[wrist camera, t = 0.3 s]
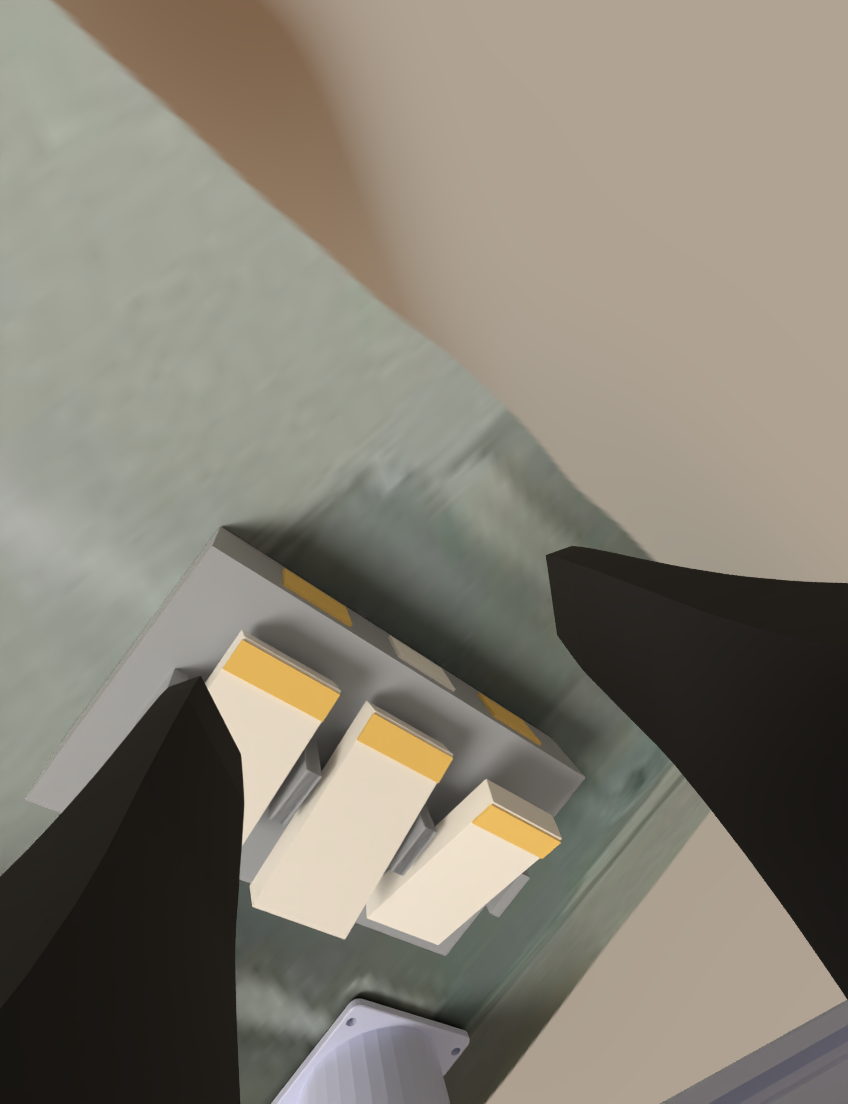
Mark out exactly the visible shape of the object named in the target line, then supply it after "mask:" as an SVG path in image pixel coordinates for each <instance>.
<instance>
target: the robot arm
mask: <svg viewBox="0 0 848 1104" xmlns="http://www.w3.org/2000/svg"><path fill="white" fill-rule="evenodd" d="M546 560H547V567H548V574H549V581H550V588H551V595H552V602H553V609H554V616H555V623H556V629H557V635H558V637H559V638H560V640H561V641H562V642H563V644H564V645H565V647H566V648H567V649H568V651H569V652H570V654H571V655H572V656H573V658H574V659H575V660H576V661H577V663H578V664H579V665H580V667H581V668H582V669H583V671H584V672H585V673H586V674H587V675H588V676H589V677H590V678H591V679H592V680H593V681H594V682H595V683H596V684H597V685H598V686H599V687H600V688H601V689H602V690H603V691H604V692H605V693H606V694H607V695H608V696H609V697H610V699H611V700H612V701H613V702H614V703H615V704H616V705H617V706H618V707H619V708H620V709H621V710H622V711H623V712H624V713H625V714H626V715H627V716H628V717H629V718H630V719H631V720H632V721H633V722H634V723H635V724H636V725H637V726H638V727H639V728H640V729H641V730H642V731H643V732H644V733H645V734H646V735H647V736H648V737H649V738H650V739H651V740H652V741H653V742H654V743H655V744H656V745H657V746H658V747H659V748H660V749H661V750H662V751H663V752H664V754H665V755H666V756H667V757H668V758H669V759H670V760H671V761H672V762H673V763H674V765H675V766H676V767H677V768H678V769H679V771H680V772H681V773H682V774H683V776H684V777H685V778H686V779H687V781H688V782H689V783H690V784H691V786H692V787H693V788H694V789H695V790H696V792H697V793H698V794H699V795H700V797H701V798H702V799H703V800H704V802H705V803H706V804H707V805H708V807H709V808H710V809H711V810H712V812H713V813H714V814H715V816H716V817H717V818H718V819H719V821H720V822H721V823H722V825H723V826H724V827H725V829H726V830H727V831H728V833H729V834H730V835H731V836H732V838H733V839H734V840H735V842H736V843H737V844H738V846H739V847H740V848H741V849H742V851H743V852H744V853H745V854H746V856H747V857H748V859H749V860H750V861H751V863H752V864H753V866H754V867H755V868H756V869H757V871H758V872H759V874H760V875H761V876H762V878H763V879H764V881H765V882H766V883H767V885H768V886H769V887H770V889H771V890H772V892H773V893H774V894H775V896H776V897H777V898H778V900H779V901H780V902H781V904H782V905H783V907H784V908H785V909H786V911H787V912H788V914H789V915H790V916H791V918H792V919H793V921H794V922H795V924H796V925H797V926H798V928H799V929H800V931H801V932H802V933H803V935H804V937H805V938H806V940H807V941H808V942H809V944H810V945H811V947H812V948H813V950H814V951H815V953H816V954H817V955H818V957H819V958H820V960H821V961H822V962H823V964H824V966H825V967H826V968H827V970H828V971H829V973H830V974H831V976H832V977H833V979H834V980H835V982H836V983H837V985H838V986H839V987H840V989H841V990H842V992H843V993H844V995H845V997H846V998H847V1000H846V1001H844V1002H842V1003H841V1004H839V1005H837V1006H835V1007H833V1008H832V1009H830V1010H828V1011H827V1012H824V1013H823V1014H821V1015H819V1016H817V1017H815V1018H814V1019H812V1020H810V1021H808V1022H806V1023H805V1024H803V1025H801V1026H799V1027H797V1028H796V1029H794V1030H792V1031H790V1032H788V1033H787V1034H785V1035H783V1036H781V1037H779V1038H778V1039H776V1040H774V1041H773V1042H770V1043H769V1044H767V1045H765V1046H763V1047H761V1048H760V1049H758V1050H756V1051H754V1052H752V1053H751V1054H749V1055H747V1056H745V1057H743V1058H742V1059H740V1060H738V1061H736V1062H734V1063H733V1064H731V1065H729V1066H727V1067H725V1068H724V1069H722V1070H720V1071H718V1072H716V1073H715V1074H713V1075H711V1076H709V1077H707V1078H705V1079H704V1080H702V1081H700V1082H698V1083H696V1084H695V1085H693V1086H691V1087H689V1088H687V1089H686V1090H684V1091H682V1092H680V1093H678V1094H677V1095H675V1096H673V1097H671V1098H669V1099H668V1100H666V1101H664V1102H662V1103H660V1104H848V583H823V582H802V581H787V580H776V579H765V578H755V577H744V576H737V575H729V574H722V573H715V572H709V571H703V570H697V569H690V568H685V567H679V566H674V565H669V564H664V563H659V562H654V561H649V560H644V559H639V558H635V557H630V556H625V555H621V554H616V553H611V552H606V551H601V550H596V549H591V548H585V547H576V546H571V547H568V548H565V549H562V550H559V551H556V552H554V553H551V554H548V555H546ZM244 804H245V803H244V784H243V771H242V758H241V753H240V751H239V749H238V747H237V745H236V743H235V741H234V739H233V737H232V735H231V734H230V732H229V730H228V728H227V726H226V724H225V722H224V720H223V718H222V716H221V714H220V712H219V710H218V708H217V706H216V704H215V702H214V700H213V698H212V696H211V694H210V692H209V691H208V689H207V687H206V685H205V683H204V681H203V679H202V677H201V676H198V677H195V678H192V679H190V680H187V681H184V682H181V683H178V684H175V685H172V686H169V687H168V688H167V689H166V690H165V691H164V692H163V693H162V694H161V695H160V696H159V697H158V698H157V700H156V701H155V702H154V703H153V704H152V706H151V707H150V708H149V709H148V710H147V712H146V713H145V714H144V715H143V717H142V718H141V719H140V720H139V722H138V723H137V724H136V725H135V727H134V728H133V729H132V730H131V732H130V733H129V734H128V735H127V736H126V738H125V739H124V740H123V741H122V743H121V744H120V745H119V746H118V748H117V749H116V750H115V751H114V752H113V754H112V755H111V756H110V757H109V759H108V760H107V761H106V762H105V764H104V765H103V766H102V767H101V768H100V770H99V771H98V772H97V773H96V774H95V775H94V777H93V778H92V779H91V780H90V781H89V782H88V783H87V785H86V786H85V787H84V788H83V789H82V790H81V791H80V793H79V794H78V795H77V796H76V797H75V798H74V799H73V801H72V802H71V803H70V804H69V805H68V806H67V807H66V809H65V810H64V811H63V812H62V813H61V814H60V815H59V817H58V818H57V819H56V820H55V821H54V822H53V823H52V824H51V825H50V827H49V828H48V829H47V830H46V831H45V832H44V833H43V834H42V835H41V836H40V837H39V838H38V839H37V840H36V841H35V842H34V843H33V844H32V845H31V847H30V848H29V849H28V850H27V851H26V852H25V853H24V854H23V855H22V856H21V857H20V858H19V859H18V860H17V861H16V862H15V863H14V864H13V865H12V866H11V867H10V868H9V869H8V870H7V871H6V872H5V873H4V874H3V875H2V876H1V877H0V1104H240V1088H239V1066H238V1044H237V1021H236V982H235V938H236V918H237V905H238V891H239V878H240V864H241V851H242V836H243V821H244ZM469 1041H470V1039H469V1036H468V1033H467V1031H465V1030H462V1029H459V1028H456V1027H452V1026H449V1025H446V1024H442V1023H439V1022H436V1021H433V1020H429V1019H426V1018H423V1017H420V1016H416V1015H413V1014H410V1013H407V1012H403V1011H400V1010H397V1009H394V1008H390V1007H387V1006H384V1005H381V1004H377V1003H374V1002H371V1001H367V1000H364V999H359V998H358V999H354V1000H353V1001H351V1002H350V1003H349V1004H348V1005H347V1007H346V1008H345V1009H344V1011H343V1012H342V1013H341V1014H340V1016H339V1017H338V1018H337V1020H336V1021H335V1022H334V1023H333V1025H332V1026H331V1027H330V1029H329V1030H328V1031H327V1032H326V1034H325V1035H324V1036H323V1037H322V1039H321V1040H320V1041H319V1043H318V1044H317V1045H316V1046H315V1048H314V1049H313V1050H312V1052H311V1053H310V1054H309V1055H308V1057H307V1058H306V1059H305V1061H304V1062H303V1063H302V1064H301V1066H300V1067H299V1068H298V1070H297V1071H296V1072H295V1073H294V1075H293V1076H292V1077H291V1079H290V1080H289V1081H288V1082H287V1084H286V1085H285V1086H284V1088H283V1089H282V1090H281V1091H280V1093H279V1094H278V1095H277V1097H276V1098H275V1099H274V1100H273V1102H272V1103H271V1104H450V1101H449V1097H448V1093H447V1089H446V1085H445V1082H444V1078H443V1076H444V1075H445V1074H446V1073H447V1071H448V1070H449V1069H450V1068H451V1066H452V1065H453V1064H454V1063H455V1061H456V1060H457V1059H458V1058H459V1056H460V1055H461V1054H462V1052H463V1051H464V1050H465V1049H466V1047H467V1046H468V1044H469Z"/></svg>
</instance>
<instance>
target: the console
mask: <svg viewBox="0 0 848 1104" xmlns="http://www.w3.org/2000/svg"><path fill="white" fill-rule="evenodd" d="M241 630H244V631H245V632H247V633H249V634H251V635H252V636H254V637H256V638H258V639H259V640H261V641H263V642H265V643H267V644H268V645H270V646H272V647H274V648H275V649H277V650H279V651H281V652H282V653H284V654H286V655H288V656H289V657H291V658H293V659H295V660H296V661H298V662H300V663H302V664H303V665H305V666H307V667H309V668H310V669H312V670H314V671H316V672H317V673H319V674H321V675H323V676H324V677H326V678H328V679H330V680H332V681H333V682H334V683H335V684H336V685H337V686H338V688H339V689H340V690H341V692H340V696H339V698H338V699H337V701H336V702H335V704H334V705H333V707H332V708H331V710H330V712H329V713H328V715H327V716H326V718H325V719H324V721H323V722H321V724H320V725H319V727H318V728H317V730H316V731H315V733H314V735H313V736H312V738H311V739H310V741H309V742H308V744H307V746H306V747H305V749H304V750H303V752H302V753H301V755H300V756H299V758H298V760H297V761H296V763H295V764H294V766H293V767H292V769H291V771H290V772H289V774H288V775H287V777H286V778H285V780H284V781H283V783H282V785H281V786H280V788H279V789H278V791H277V792H276V794H275V796H274V797H273V799H272V800H271V802H270V803H269V805H268V806H267V808H266V810H265V811H264V813H263V814H262V816H261V817H260V819H259V821H258V822H257V824H256V825H255V827H254V828H253V830H252V831H251V833H250V835H249V836H248V838H247V839H246V841H245V842H244V844H243V846H242V851H241V864H240V878H239V879H240V880H242V881H245V882H248V883H250V884H251V883H252V881H253V880H254V878H255V877H256V875H257V873H258V872H259V870H260V869H261V867H262V865H263V864H264V862H265V861H266V859H267V857H268V856H269V854H270V853H271V851H272V850H273V848H274V846H275V845H276V843H277V842H278V840H279V838H280V837H281V835H282V834H283V832H284V830H285V829H286V827H287V826H288V824H289V823H290V821H291V819H292V818H293V816H294V815H295V813H296V811H297V810H298V808H299V807H300V805H301V804H302V802H303V801H304V800H305V798H306V797H307V796H308V795H309V793H310V792H311V791H312V789H313V788H314V787H315V785H316V784H317V783H318V781H319V780H320V779H321V778H322V774H321V772H322V770H323V768H324V767H325V765H326V764H327V762H328V761H329V759H330V757H331V756H332V754H333V753H334V751H335V749H336V748H337V746H338V745H339V743H340V741H341V740H342V738H343V737H344V735H345V734H346V732H347V730H348V729H349V727H350V726H351V724H352V722H353V721H354V719H355V718H356V716H357V714H358V713H359V711H360V710H361V708H362V707H363V705H364V703H365V702H366V700H367V701H368V702H370V703H372V704H374V705H375V706H377V707H379V708H381V709H382V710H384V711H386V712H388V713H390V714H391V715H393V716H395V717H397V718H398V719H400V720H402V721H404V722H405V723H407V724H409V725H411V726H412V727H414V728H416V729H418V730H419V731H421V732H423V733H425V734H426V735H428V736H430V737H432V738H433V739H435V740H437V741H439V742H440V743H442V744H443V745H444V746H445V747H446V748H447V749H448V750H449V751H450V752H451V753H452V754H453V760H452V761H451V763H450V765H449V766H448V768H447V770H446V771H445V773H444V775H443V777H442V778H441V780H440V782H439V783H437V784H436V786H435V787H434V789H433V791H432V792H431V794H430V796H429V797H428V799H427V801H426V803H425V804H424V806H423V808H422V809H421V811H420V813H419V814H418V816H417V818H416V820H415V821H414V823H413V825H412V826H411V828H410V830H409V831H408V833H407V835H406V837H405V838H404V840H403V842H402V843H401V845H400V847H399V848H398V850H397V852H396V854H395V855H394V857H393V859H392V860H391V862H390V864H389V865H388V867H387V869H386V871H385V872H384V874H385V873H386V872H387V871H388V870H389V869H390V871H392V872H395V873H397V874H399V875H402V876H404V875H405V873H406V872H407V871H408V869H409V868H410V867H411V865H412V864H413V863H414V862H415V860H416V859H417V858H418V856H419V855H420V854H421V853H422V851H423V850H424V849H425V847H426V846H427V845H428V844H429V842H430V841H431V840H432V838H433V837H434V836H435V835H436V833H437V831H436V829H435V826H436V825H437V824H438V823H439V822H441V821H442V820H443V819H444V818H445V817H446V816H447V815H448V814H449V813H450V812H451V811H452V810H453V809H454V808H455V807H457V806H458V805H459V804H460V803H461V802H462V801H463V800H464V799H465V798H466V797H467V796H468V795H469V794H470V793H471V792H473V791H474V790H475V789H476V788H477V787H478V786H479V785H480V784H481V783H482V782H483V781H484V780H485V779H488V780H490V781H491V782H493V783H495V784H497V785H499V786H500V787H502V788H504V789H506V790H507V791H509V792H511V793H513V794H515V795H516V796H518V797H520V798H522V799H524V800H525V801H527V802H529V803H531V804H532V805H534V806H536V807H538V808H540V809H541V810H543V811H545V812H547V813H549V814H550V815H552V816H553V818H554V817H555V816H556V815H557V813H558V812H559V811H560V810H561V808H562V807H563V806H564V805H565V803H566V802H567V801H568V799H569V798H570V797H571V796H572V794H573V793H574V792H575V791H576V789H577V788H578V787H579V785H580V784H581V783H582V782H583V780H584V779H585V778H586V777H585V776H584V775H583V774H582V773H581V772H580V771H579V769H578V768H577V767H576V766H575V765H574V764H573V762H572V761H571V760H570V759H569V758H568V757H567V755H566V754H565V753H564V752H563V751H562V750H561V749H560V747H559V746H558V745H557V744H556V743H555V742H554V740H553V739H552V738H551V737H549V736H548V735H546V734H544V733H543V732H541V731H540V730H538V729H537V728H535V727H534V726H532V725H530V724H529V723H527V722H526V721H524V720H523V719H521V718H519V717H518V716H516V715H515V714H513V713H512V712H510V711H509V710H507V709H505V708H504V707H502V706H501V705H499V704H498V703H496V702H494V701H493V700H491V699H490V698H488V697H487V696H485V695H484V694H482V693H480V692H479V691H477V690H476V689H474V688H473V687H471V686H469V685H468V684H466V683H465V682H463V681H462V680H460V679H459V678H457V677H455V676H454V675H452V674H451V673H449V672H448V671H446V670H444V669H443V668H441V667H440V666H438V665H437V664H435V663H434V662H432V661H430V660H429V659H427V658H426V657H424V656H423V655H421V654H419V653H418V652H416V651H415V650H413V649H412V648H410V647H409V646H407V645H405V644H404V643H402V642H401V641H399V640H398V639H396V638H394V637H393V636H391V635H390V634H388V633H387V632H385V631H384V630H382V629H380V628H379V627H377V626H376V625H374V624H373V623H371V622H369V621H368V620H366V619H365V618H363V617H362V616H360V615H359V614H357V613H355V612H354V611H352V610H351V609H349V608H348V607H346V606H344V605H343V604H341V603H340V602H338V601H337V600H335V599H334V598H332V597H330V596H329V595H327V594H326V593H324V592H323V591H321V590H319V589H318V588H316V587H315V586H313V585H312V584H310V583H309V582H307V581H305V580H304V579H302V578H301V577H299V576H298V575H296V574H294V573H293V572H291V571H290V570H288V569H287V568H285V567H284V566H282V565H280V564H279V563H277V562H276V561H274V560H273V559H271V558H269V557H268V556H266V555H265V554H263V553H262V552H260V551H259V550H257V549H255V548H254V547H252V546H251V545H249V544H248V543H246V542H244V541H243V540H241V539H240V538H238V537H237V536H235V535H234V534H232V533H230V532H229V531H227V530H226V529H224V528H223V527H221V526H220V528H219V529H218V531H217V532H216V533H215V535H214V536H213V537H212V539H211V540H210V541H209V543H208V544H207V545H206V547H205V548H204V549H203V551H202V552H201V554H200V555H199V556H198V558H197V559H196V560H195V562H194V563H193V564H192V566H191V567H190V568H189V570H188V571H187V573H186V574H185V575H184V577H183V578H182V579H181V581H180V582H179V583H178V585H177V586H176V587H175V589H174V590H173V591H172V593H171V594H170V596H169V597H168V598H167V600H166V601H165V602H164V604H163V605H162V606H161V608H160V609H159V610H158V612H157V613H156V614H155V616H154V617H153V619H152V620H151V621H150V623H149V624H148V625H147V627H146V628H145V629H144V631H143V632H142V633H141V635H140V636H139V637H138V639H137V640H136V642H135V643H134V644H133V646H132V647H131V648H130V650H129V651H128V652H127V654H126V655H125V656H124V658H123V659H122V660H121V662H120V663H119V665H118V666H117V667H116V669H115V670H114V671H113V673H112V674H111V675H110V677H109V678H108V679H107V681H106V682H105V683H104V685H103V686H102V688H101V689H100V690H99V692H98V693H97V694H96V696H95V697H94V698H93V700H92V701H91V702H90V704H89V705H88V706H87V708H86V709H85V711H84V712H83V713H82V715H81V716H80V717H79V719H78V720H77V721H76V723H75V724H74V725H73V727H72V728H71V729H70V731H69V732H68V734H67V735H66V736H65V738H64V739H63V740H62V742H61V743H60V744H59V746H58V748H57V749H56V751H55V752H54V754H53V755H52V757H51V759H50V760H49V762H48V763H47V765H46V766H45V768H44V770H43V771H42V773H41V774H40V776H39V778H38V779H37V781H36V782H35V784H34V785H33V787H32V789H31V790H30V792H29V793H28V795H27V796H26V798H25V800H27V801H29V802H32V803H35V804H37V805H40V806H43V807H46V808H48V809H51V810H54V811H56V812H59V813H62V812H63V811H64V810H65V809H66V807H67V806H68V805H69V804H70V803H71V802H72V801H73V799H74V798H75V797H76V796H77V795H78V794H79V793H80V791H81V790H82V789H83V788H84V787H85V786H86V785H87V783H88V782H89V781H90V780H91V779H92V778H93V777H94V775H95V774H96V773H97V772H98V771H99V770H100V768H101V767H102V766H103V765H104V764H105V762H106V761H107V760H108V759H109V757H110V756H111V755H112V754H113V752H114V751H115V750H116V749H117V748H118V746H119V745H120V744H121V743H122V741H123V740H124V739H125V738H126V736H127V735H128V734H129V733H130V732H131V730H132V729H133V728H134V727H135V725H136V724H137V723H138V722H139V720H140V719H141V718H142V717H143V715H144V714H145V713H146V712H147V710H148V709H149V708H150V707H151V706H152V704H153V703H154V702H155V701H156V700H157V698H158V697H159V696H160V695H161V694H162V693H163V692H164V691H165V690H166V689H167V688H168V687H169V686H172V685H175V684H178V683H181V682H184V681H187V680H190V679H192V678H195V677H198V676H201V677H202V679H203V681H204V683H205V682H206V681H207V679H208V678H209V676H210V675H211V673H212V672H213V671H214V669H215V668H216V666H217V665H218V663H219V662H220V660H221V659H222V658H223V656H224V655H225V653H226V652H227V650H228V649H229V647H230V646H231V644H232V643H233V642H234V640H235V639H236V637H237V636H238V634H239V633H240V631H241ZM384 874H383V875H384ZM529 878H530V877H529V875H528V873H527V871H526V870H525V871H524V872H523V873H522V874H521V875H519V876H518V877H517V878H516V879H515V880H514V881H512V882H511V883H510V884H509V885H508V886H507V887H505V888H504V889H503V890H502V891H501V892H500V893H498V894H497V895H496V896H495V897H494V898H493V899H491V900H490V901H489V902H488V903H487V904H486V906H487V908H488V910H489V912H490V914H493V915H495V916H497V917H499V916H500V915H501V914H502V913H503V911H504V910H505V909H506V907H507V906H508V905H509V904H510V902H511V901H512V900H513V899H514V897H515V896H516V895H517V893H518V892H519V891H520V890H521V888H522V887H523V886H524V885H525V883H526V882H527V881H528V879H529ZM484 907H485V905H484V906H483V907H482V908H481V909H480V910H479V911H477V912H476V913H475V914H474V915H473V916H472V917H470V918H469V919H468V920H467V921H466V922H465V923H463V924H462V925H461V926H460V927H459V928H458V929H456V930H455V931H454V932H453V933H452V934H451V935H449V936H448V937H447V938H446V939H445V940H444V941H442V942H441V943H440V944H439V945H436V944H434V943H431V942H428V941H426V940H423V939H420V938H418V937H415V936H412V935H410V934H407V933H404V932H402V931H399V930H397V929H394V928H391V927H389V926H386V925H383V924H381V923H378V922H375V921H373V920H370V919H367V914H366V905H365V906H364V908H363V910H362V911H361V913H360V915H359V916H358V918H357V920H356V922H355V923H358V924H361V925H363V926H366V927H369V928H372V929H374V930H377V931H380V932H382V933H385V934H388V935H390V936H393V937H396V938H398V939H401V940H404V941H407V942H409V943H412V944H415V945H417V946H420V947H423V948H425V949H428V950H431V951H434V952H436V953H439V954H442V955H444V956H446V955H447V954H448V952H449V951H450V950H451V949H452V947H453V946H454V945H455V944H456V942H457V941H458V940H459V938H460V937H461V936H462V935H463V933H464V932H465V931H466V929H467V928H468V927H469V926H470V924H471V923H472V922H473V921H474V919H475V918H476V917H477V915H478V914H479V913H480V912H481V910H482V909H483V908H484Z"/></svg>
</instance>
